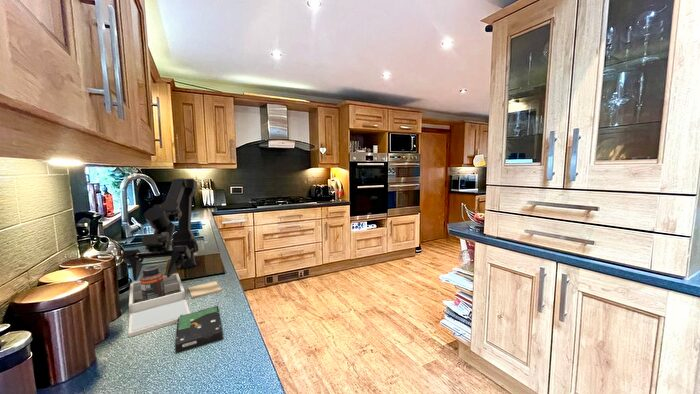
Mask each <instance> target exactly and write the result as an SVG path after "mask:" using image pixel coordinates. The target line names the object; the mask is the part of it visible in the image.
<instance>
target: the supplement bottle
mask: <svg viewBox="0 0 700 394" xmlns="http://www.w3.org/2000/svg"><path fill="white" fill-rule="evenodd" d="M142 274H143V275H141V277H140V278H139V281H140V282H141V291H142V299H141V300H142V301H146V300H150V299H154V298H158V297H162V296H166V293H165V290H164V282H163V276H164V274H163V273H162V272H161V271H159V266H157V265H151V266H148V267H144V268H142Z"/></svg>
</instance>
